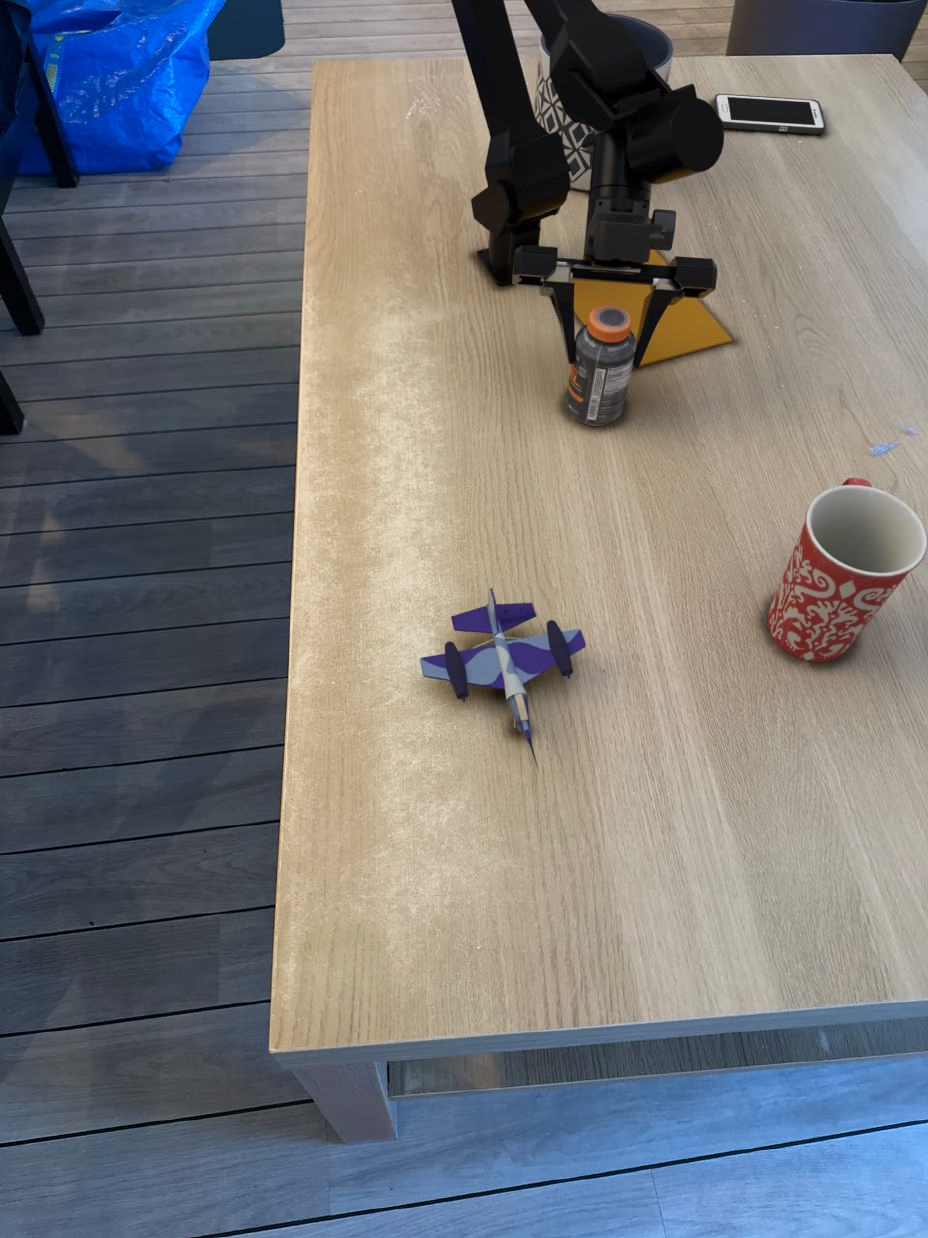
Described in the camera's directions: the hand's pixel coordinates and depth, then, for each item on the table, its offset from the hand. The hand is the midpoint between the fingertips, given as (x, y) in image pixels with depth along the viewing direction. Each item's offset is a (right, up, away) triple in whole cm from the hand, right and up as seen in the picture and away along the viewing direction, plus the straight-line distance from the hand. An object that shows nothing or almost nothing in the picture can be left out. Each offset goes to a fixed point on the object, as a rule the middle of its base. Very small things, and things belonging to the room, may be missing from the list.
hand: (603, 366), depth 92 cm
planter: (+3, +36, +33) cm, 49 cm away
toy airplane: (-10, -30, -13) cm, 34 cm away
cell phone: (+29, +45, +40) cm, 67 cm away
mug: (+17, -24, -8) cm, 30 cm away
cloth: (+6, +11, +16) cm, 20 cm away
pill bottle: (0, -3, +6) cm, 7 cm away
